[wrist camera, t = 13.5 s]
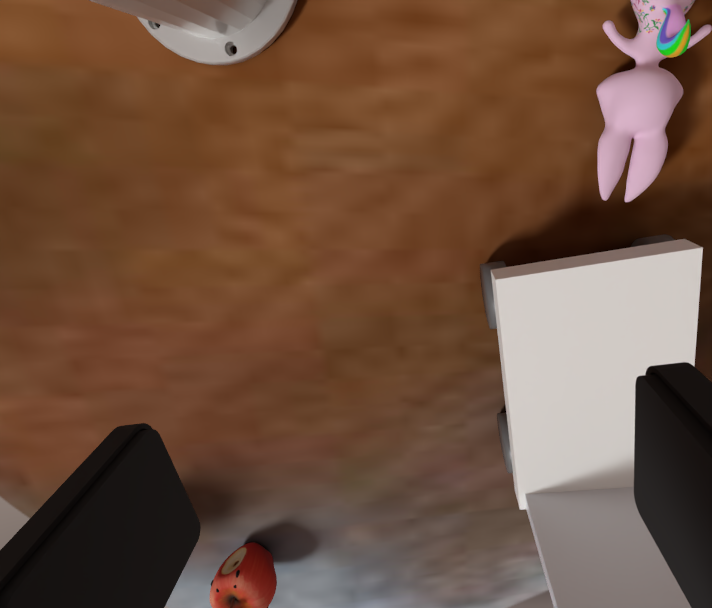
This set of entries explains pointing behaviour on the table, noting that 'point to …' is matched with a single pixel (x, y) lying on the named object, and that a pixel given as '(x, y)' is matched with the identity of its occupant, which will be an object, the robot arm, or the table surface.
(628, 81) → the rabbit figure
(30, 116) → the table surface
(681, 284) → the trolley
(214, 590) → the apple
